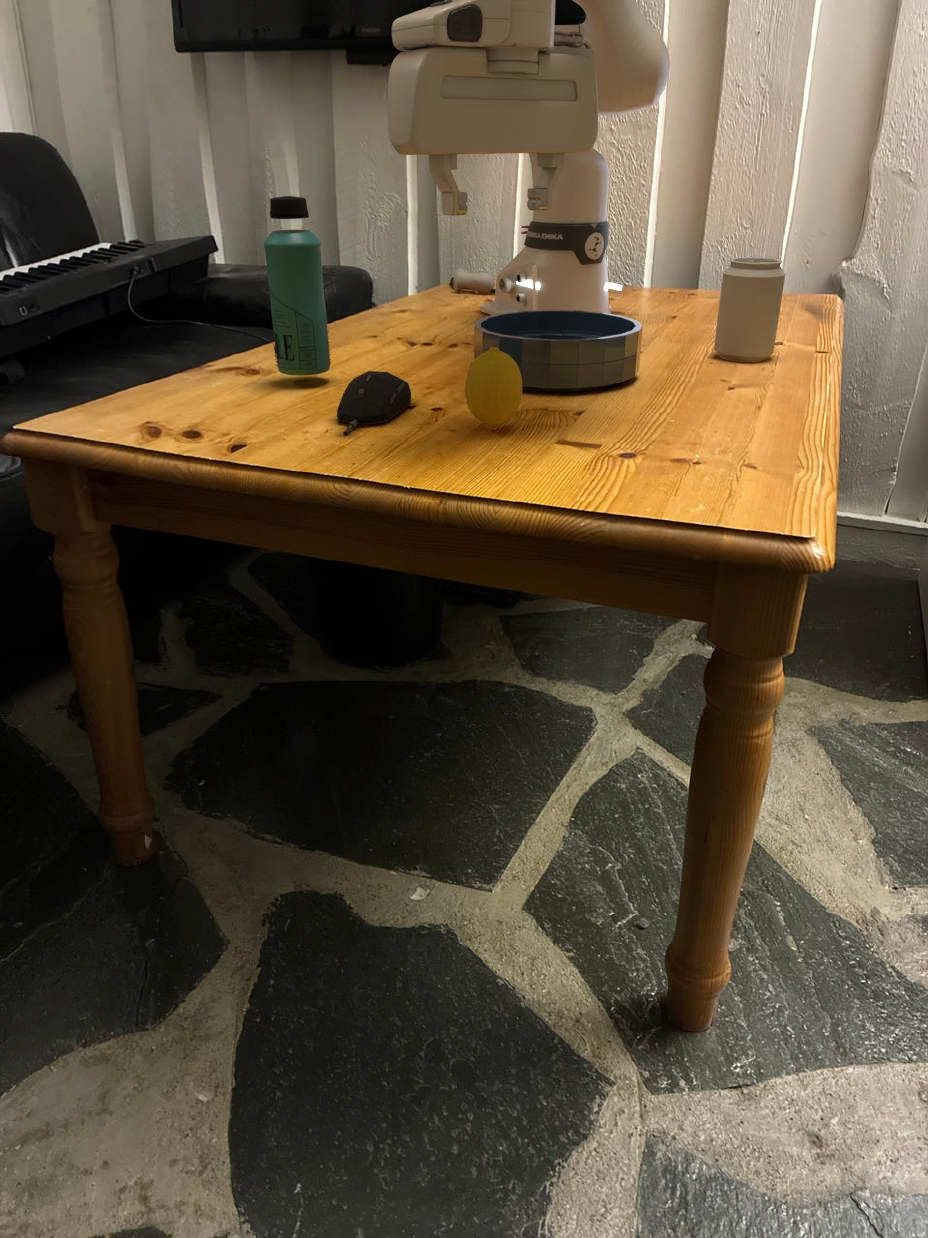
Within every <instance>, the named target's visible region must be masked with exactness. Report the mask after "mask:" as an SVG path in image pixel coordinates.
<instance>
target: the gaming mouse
mask: <svg viewBox="0 0 928 1238" xmlns="http://www.w3.org/2000/svg"><path fill="white" fill-rule="evenodd" d="M411 401H412V390H411V387H410V384H409V382H407V381H406V380H404V379H402V378H400V377H398V376H396V375H394V374H392V373H390V372H389V371H379V370H378V371H376V370H367V371H365V372H364V373H361V374H360V375H357V376H355V377H354V378H353V379H352V380H350V382H349V383H348V384H347V386H346V387H345V390H344V392H343V393H342V396H341V399H340V401H339V404H338V406H337V410H336V416H337V420H338V421H340V422H342V423H348V426H347V428H346V429H345V430H344V431H343V435H344V436H347V435H348V434H349V433H350V432H351V431H352V430H354V429H355V428H356V427H357V426H358V425H377V424H382V423H386V422H388V421H389V420H391V419H392V418H394V417H395V416H397V415H398V414H399V413H400V412H402V411H404V410H405V409H406V408H407V407H409V405H411Z"/></svg>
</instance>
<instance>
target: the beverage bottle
mask: <svg viewBox="0 0 928 1238" xmlns="http://www.w3.org/2000/svg"><path fill="white" fill-rule="evenodd" d="M269 210H270V211H269V216H270V217H269V218H270V219H272V220H273V219H274V220H298V219H299V220H300V219H308V218H310V214H309V210H308V203H307V198H305V197H301V196H293V195H284V196H277V197H271V198H270V200H269ZM321 246H322V242H321V240H320V238H319V237H318V236H317V235H316V234H314V232H313V231H311V229H279V230H272V231H271V232H270V233H269V234H268V235H267V237H266V238H265V240H264V241H263V248H264V251H265V253H264V254H265V260H266V261H265V262H266V270H267V271H266V272H267V273H266V274H267V287H268V290H267V292H268V293H269V294H268V295H267V296H268V298H269V301H270V302H269V303H270V311H271V318H272V319H271V320H272V321H271V322H272V323H271V325H272V335H273V339H272V341H273V344H274V346H273V349H274V350H273V351H274V352H273V353H274V358H275V366H276V367H277V370H278V372H279V373H280V374H282V375H286V376H287V375H288V376H313V375H320V374H324V373H326V372H327V373H328V371H330V370H331V369H330V368H331V364H332V362H333V361H332V360H331V359H332V355H331V354H332V353H331V352H332V351H331V344H330V343H331V342H330V341H331V340H330V335H329V333H330V331H329V329H330V328H329V327H330V326H328V319H329V317H328V316H327V315H328V312H327V301H326V299H325V289H324V288H325V286H324V275H323V273H324V272H323V263H322V250H321V249H322V248H321Z"/></svg>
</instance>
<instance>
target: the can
mask: <svg viewBox="0 0 928 1238" xmlns="http://www.w3.org/2000/svg"><path fill="white" fill-rule="evenodd" d="M729 262H730V265H729V266H728V267H726V269H725V270H724V271H722V280H721V289H720V294H719V295H720V296H719V302H718V303H719V304H718V312H717V313H718V314H717V319H716V320H717V321H716V330H715V335H714V336H715V338H714V346H713V350H714V351H715V352H716V353H717V355H718V356H719V358H721V359H723V360H726V361H731V362H737V363H739V362H740V363H755V362H756V363H758V362H762V361H765V360H767V358H769V357H770V356H771V355H773V354H774V352H775V347H776V339H777V333H778V326H779V319H780V314H781V313H780V312H781V306H782V299H783V292H784V287H785V281H786V280H785V279H786V272H785V271H784V269H783V267H781V264H783V261H782V260H781V259H778V258H772V257H760V256H759V257H758V256H756V257H755V256H746V257H745V256H744V257H743V256H742V257H734V258H731V259H730V260H729Z"/></svg>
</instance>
